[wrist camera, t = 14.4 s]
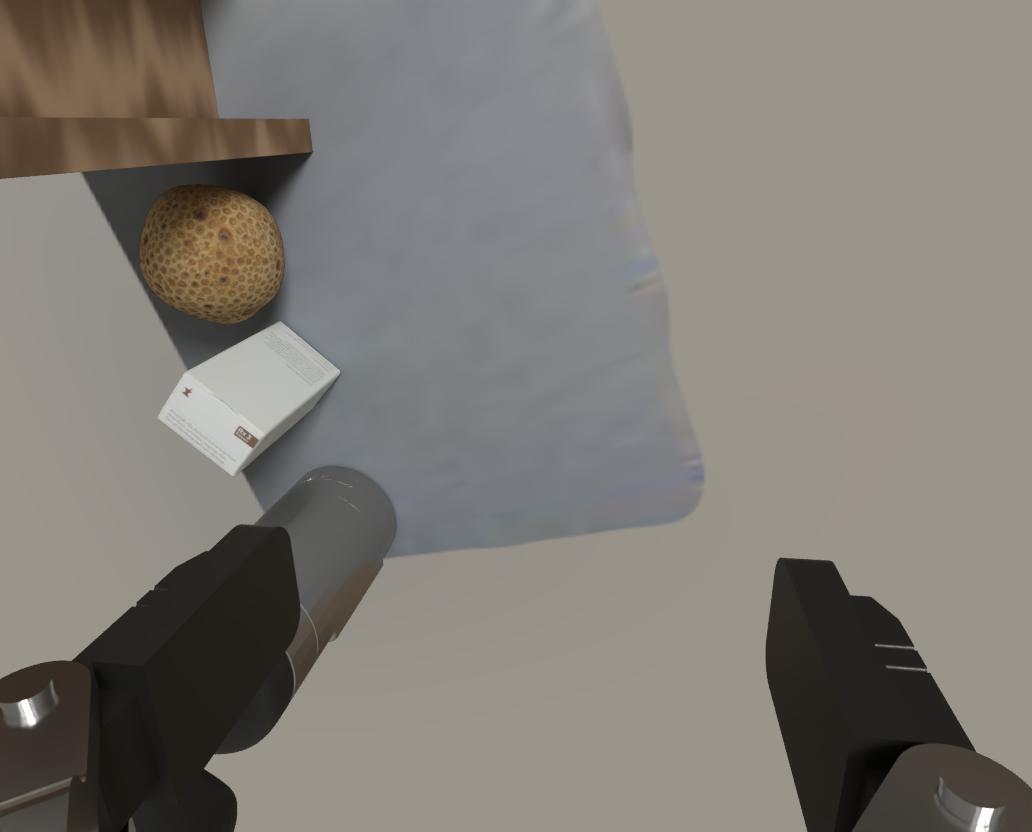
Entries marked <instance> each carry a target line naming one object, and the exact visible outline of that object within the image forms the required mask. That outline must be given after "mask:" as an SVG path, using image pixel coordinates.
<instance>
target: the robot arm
mask: <svg viewBox="0 0 1032 832" xmlns="http://www.w3.org/2000/svg"><path fill="white" fill-rule="evenodd" d="M395 533H396V517H395V514H394V510H393V507H392V505H391V503H390V501H389V500H388V498H387V496H386V495H385V494H384V492H383V491H382V490H381V489H380V487H378V486H377V485H376V484H375V483H374V482H373V481H372V480H370V479H369V478H367V477H366V476H364V475H362V474H361V473H358V472H356V471H353V470H351V469H348V468H342V467H322V468H318V469H315V470H313V471H311V472H309V473H307V474H306V475H305V476H303V477H302V478H301V479H300V480H299V481H298V482H297V483H296V484H295V485H294V486H293V487H292V488H291V489H290V490H289V491H288V492H287V493H286V494H285V495H284V496H283V497H282V498H281V499H279V500H278V501H277V502H276V503H275V504H274V505H273V506H272V507H271V508H270V509H269V510H268V511H267V512H266V513H265V514H264V515H263V516H262V517H261V518H260V519H259V520H258V521H257V522H256V523H255V524H254V525H243V524H241V525H237V526H236V527H234V528H233V529H232V530H231V531H230V532H229V533H228V534H227V535H226V536H224V537H223V538H222V539H221V540H220V541H219V542H218V543H217V544H216V545H215V546H214V547H213V548H212V549H211V550H209V551H205V552H203V553H201V554H200V555H198V556H196V557H194V558H192V559H190V560H188V561H186V562H185V563H183V564H181V565H179V566H177V567H175V568H174V569H173V570H172V571H171V572H170V573H169V574H168V575H167V576H166V577H164V578H163V579H162V580H161V581H160V582H159V583H158V584H157V585H155V588H154V590H150V591H149V592H148V593H147V594H146V595H144V596H143V597H142V598H141V599H140V600H139V601H138V602H137V605H136V607H131V608H130V609H129V610H128V611H127V612H126V613H124V614H123V615H122V616H121V617H120V618H119V619H118V620H117V621H115V622H114V623H113V624H112V625H111V626H110V627H109V628H108V629H107V630H106V631H104V633H102V634H101V635H100V636H99V637H98V638H97V639H95V640H94V641H93V642H92V643H91V644H90V645H89V646H88V647H87V648H85V649H84V650H83V651H82V652H81V653H80V654H79V655H78V656H77V657H76V658H74V659H73V660H72V661H52V662H45V663H40V664H37V665H33V666H30V667H27V668H24V669H21V670H18V671H16V672H14V673H11V674H10V675H7V676H5V677H3V678H2V679H0V832H234V828H235V825H236V819H237V801H236V797H235V795H234V793H233V791H232V790H231V789H230V787H228V786H227V785H226V784H225V783H224V782H222V781H221V780H220V779H218V778H217V777H215V776H214V775H212V774H211V773H209V772H208V771H206V770H205V769H204V768H205V766H206V765H207V763H208V762H209V761H210V759H211V758H212V756H213V755H214V754H228V753H234V752H238V751H242V750H245V749H247V748H249V747H251V746H253V745H255V744H257V743H258V742H259V741H260V740H262V739H263V738H264V737H265V736H266V735H267V734H268V733H269V732H270V731H271V730H272V728H273V727H274V726H275V724H276V723H277V722H278V720H279V719H280V717H281V715H282V714H283V712H284V711H285V709H286V708H287V706H288V704H289V703H290V701H291V699H292V698H293V696H294V695H295V693H296V692H297V690H298V689H299V687H300V686H301V684H302V682H303V681H304V679H305V678H306V676H307V675H308V673H309V672H310V670H311V668H312V667H313V665H314V663H315V662H316V660H317V659H318V657H319V656H320V654H321V653H322V651H323V649H324V648H325V646H326V645H327V643H328V642H331V641H334V640H335V639H336V638H337V637H338V636H339V634H340V632H341V631H342V630H343V628H344V626H345V625H346V623H347V622H348V620H349V618H350V617H351V615H352V614H353V612H354V611H355V609H356V607H357V605H358V604H359V602H360V601H361V600H362V598H363V596H364V595H365V593H366V592H367V590H368V588H369V587H370V585H371V584H372V582H373V580H374V579H375V577H376V576H377V574H378V573H379V571H380V570H381V568H382V566H383V557H384V556H385V554H386V552H387V551H388V549H389V548H390V546H391V544H392V542H393V540H394V538H395ZM766 671H767V679H768V684H769V688H770V692H771V696H772V700H773V703H774V707H775V711H776V715H777V718H778V722H779V726H780V730H781V734H782V737H783V741H784V745H785V749H786V752H787V756H788V760H789V764H790V767H791V771H792V775H793V779H794V783H795V786H796V790H797V794H798V797H799V801H800V805H801V809H802V813H803V816H804V820H805V824H806V828H807V832H1032V788H1031V787H1030V786H1029V785H1028V784H1027V783H1026V782H1024V781H1023V780H1022V779H1021V778H1019V777H1018V776H1017V775H1016V774H1015V773H1013V772H1012V771H1010V770H1009V769H1007V768H1006V767H1004V766H1003V765H1001V764H999V763H998V762H996V761H994V760H992V759H990V758H988V757H986V756H983V755H981V754H979V753H977V752H976V750H975V749H974V747H973V745H972V744H971V742H970V740H969V738H968V737H967V735H966V733H965V732H964V730H963V728H962V727H961V725H960V723H959V721H958V720H957V718H956V716H955V715H954V713H953V711H952V709H951V708H950V706H949V705H948V703H947V701H946V699H945V697H944V696H943V694H942V693H941V691H940V689H939V688H938V686H937V684H936V682H935V680H934V679H933V677H932V675H931V674H930V673H927V667H926V665H925V663H924V662H923V660H922V658H921V657H920V655H919V653H918V651H915V650H914V645H913V643H912V641H911V640H910V638H909V636H908V634H907V633H906V631H905V629H904V628H903V626H902V624H901V622H900V621H899V620H898V618H896V617H895V616H894V615H893V614H891V613H890V612H889V611H888V610H887V609H885V608H884V607H883V606H882V605H880V604H879V603H878V602H877V601H876V600H874V599H873V598H872V597H868V596H867V597H866V596H852V595H850V594H849V592H848V590H847V588H846V586H845V584H844V582H843V580H842V578H841V576H840V574H839V572H838V570H837V568H836V566H835V565H834V563H833V562H832V561H826V560H809V559H794V558H779V559H778V561H777V564H776V568H775V574H774V582H773V590H772V599H771V607H770V614H769V623H768V631H767V639H766Z"/></svg>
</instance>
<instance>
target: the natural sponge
mask: <svg viewBox="0 0 1032 832" xmlns="http://www.w3.org/2000/svg"><path fill="white" fill-rule="evenodd" d="M139 259H140V267H141V271H142V274H143V276H144V278H145V280H146V282H147V283H148V285H149V286H150V288H151V289H152V290H153V292H154V293H155V294H157V295H158V296H159V297H160V298H161V299H162V300H163V301H164V302H166V303H167V304H169V305H170V306H172V307H173V308H176V309H178V310H180V311H182V312H185V313H187V314H190V315H193V316H195V317H198V318H201V319H204V320H207V321H211V322H215V323H220V324H236V323H239V322H242V321H244V320H246V319H248V318H249V317H251V316H253V315H254V314H255V313H256V312H257V311H258V310H260V309H261V308H262V307H263V306H264V305H266V304H267V303H268V302H269V301H271V300H272V299H273V298H274V296H275V295H276V294H277V292H278V291H279V289H280V286H281V283H282V279H283V276H284V267H285V261H284V249H283V241H282V237H281V233H280V230H279V228H278V225H277V223H276V221H275V219H274V218H273V217H272V215H271V214H270V213H269V211H268V210H267V209H266V208H265V207H264V206H263V205H261V204H260V203H259V202H257V201H256V200H254V199H253V198H251V197H249V196H247V195H245V194H243V193H241V192H239V191H236V190H232V189H228V188H225V187H221V186H215V185H208V184H196V185H181V186H177V187H174V188H171V189H169V190H168V191H166V192H165V193H163V194H162V195H161V196H160V197H159V198H158V199H157V201H156V202H155V203H154V205H153V206H152V208H151V210H150V212H149V214H148V217H147V219H146V222H145V225H144V227H143V231H142V236H141V241H140V249H139Z"/></svg>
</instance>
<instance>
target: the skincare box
mask: <svg viewBox="0 0 1032 832" xmlns="http://www.w3.org/2000/svg"><path fill="white" fill-rule="evenodd" d="M339 375H340V371H339V370H338V369H337V368H336V367H335V366H334V365H332V364H331V363H330V362H329V361H327V360H326V359H325V358H324V357H323V356H321V355H320V354H319V353H318V352H317V351H315V350H314V349H313V348H312V347H311V346H310V345H308V344H307V343H306V342H305V341H304V340H302V339H301V338H300V337H299V336H298V335H296V334H295V333H294V332H293V331H292V330H290V329H289V328H288V327H287V326H286V325H284V324H283V323H282V322H280V321H278V322H277V323H275V324H273V325H271V326H269V327H268V328H266V329H264V330H262V331H260V332H258V333H256V334H254V335H253V336H251V337H249V338H247V339H245V340H243V341H241V342H240V343H238V344H236V345H234V346H232V347H230V348H228V349H226V350H225V351H223V352H221V353H219V354H217V355H215V356H214V357H212V358H210V359H208V360H206V361H205V362H203V363H201V364H200V365H198V366H196V367H194V368H192V369H190V370H188V371H186V372H185V373H184V374H183V376H182V378H181V379H180V381H179V382H178V384H177V386H176V387H175V389H174V391H173V392H172V394H171V395H170V397H169V399H168V400H167V402H166V403H165V405H164V407H163V408H162V410H161V412H160V413H159V415H158V419H159V420H160V421H162V422H163V423H164V424H165V425H167V426H168V427H169V428H171V429H172V430H173V431H175V432H176V433H177V434H178V435H180V436H181V437H182V438H184V439H185V440H186V441H187V442H189V443H190V444H191V445H193V446H194V447H195V448H196V449H198V450H199V451H200V452H202V453H203V454H204V455H205V456H207V457H208V458H209V459H211V460H212V461H213V462H215V463H216V464H217V465H218V466H220V467H221V468H222V469H223V470H225V471H226V472H227V473H228V474H230V475H231V476H233V477H234V476H236V475H237V474H238V473H240V472H241V471H242V470H243V469H244V468H245V467H247V466H248V465H249V464H250V463H251V462H252V461H253V460H254V459H255V458H257V457H258V456H259V455H260V454H261V453H262V452H263V451H264V450H266V449H267V448H268V447H269V446H270V445H271V444H272V443H274V442H275V441H276V440H277V439H278V438H279V437H281V436H282V435H283V434H284V433H285V432H286V431H288V430H289V429H290V428H291V427H292V426H293V425H294V424H296V423H297V422H298V421H299V420H300V419H301V418H302V417H304V416H305V415H306V414H307V413H308V412H309V411H310V410H312V409H313V408H314V406H315V405H316V404H317V402H318V401H319V400H320V398H321V397H322V396H323V395H324V393H325V392H326V391H327V390H328V388H329V387H330V386H331V385H332V383H333V382H334V381H335V380H336V379H337V377H338V376H339Z"/></svg>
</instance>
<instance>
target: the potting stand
mask: <svg viewBox="0 0 1032 832" xmlns="http://www.w3.org/2000/svg"><path fill="white" fill-rule="evenodd" d="M307 152H313V150H312V142H311V133H310V125H309V119H219V117H218V111H217V105H216V99H215V93H214V87H213V80H212V74H211V68H210V62H209V56H208V50H207V44H206V38H205V32H204V25H203V19H202V13H201V7H200V1H199V0H0V179H3V178H15V177H27V176H39V175H50V174H62V173H73V172H85V171H97V170H109V169H120V168H132V167H144V166H155V165H167V164H179V163H190V162H202V161H214V160H225V159H237V158H249V157H260V156H272V155H284V154H295V153H307Z"/></svg>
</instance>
